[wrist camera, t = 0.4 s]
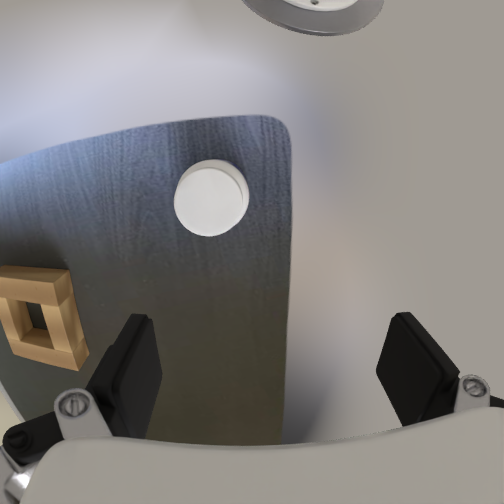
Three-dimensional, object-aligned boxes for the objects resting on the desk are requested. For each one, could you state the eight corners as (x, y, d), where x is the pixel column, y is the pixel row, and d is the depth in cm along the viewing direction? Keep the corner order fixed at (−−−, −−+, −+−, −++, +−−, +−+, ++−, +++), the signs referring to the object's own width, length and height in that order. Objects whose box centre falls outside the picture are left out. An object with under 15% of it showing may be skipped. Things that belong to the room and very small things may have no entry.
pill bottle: (247, 215, 30) (249, 245, 20) (190, 215, 30) (167, 244, 20) (248, 158, 28) (251, 160, 19) (190, 158, 28) (164, 161, 18)
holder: (4, 264, 31) (-13, 275, 27) (69, 269, 31) (53, 282, 27) (26, 340, 35) (13, 354, 31) (89, 353, 35) (78, 371, 31)
